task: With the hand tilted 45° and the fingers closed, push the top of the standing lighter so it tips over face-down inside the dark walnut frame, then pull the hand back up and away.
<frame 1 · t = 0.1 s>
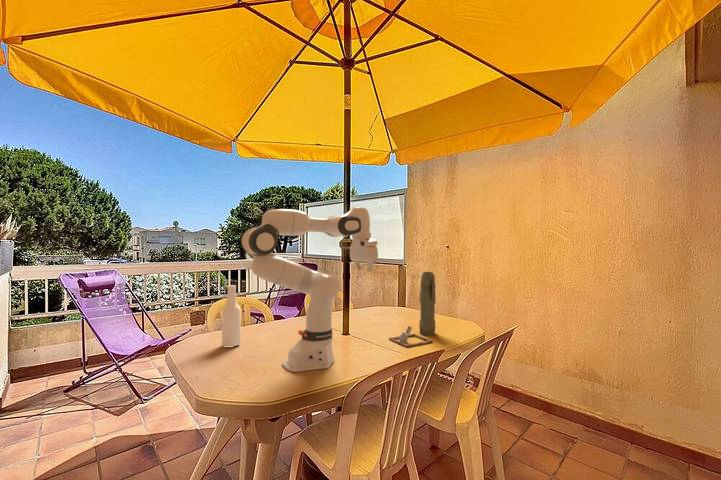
hand: (364, 270, 163), 39 cm above the table, tool pointing down, fingers open, 8 cm apart
lighter: (405, 342, 180), resting in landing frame
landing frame: (410, 341, 181), on the table
alcohol: (231, 346, 172), on the table
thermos: (427, 333, 197), on the table
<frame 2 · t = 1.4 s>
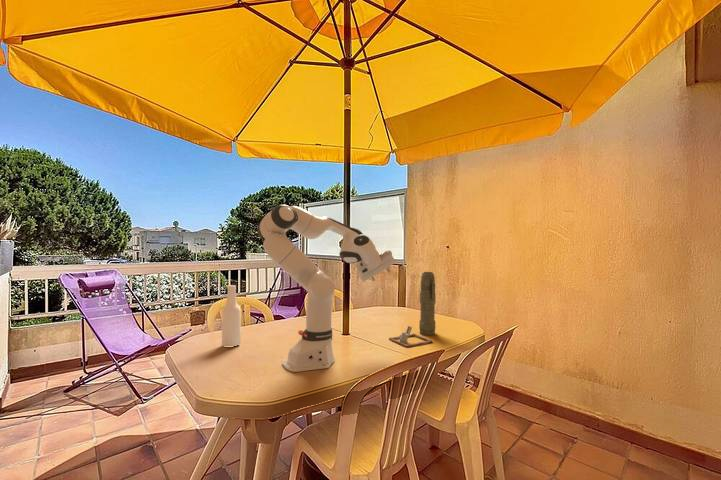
hand: (381, 275, 181), 35 cm above the table, tool tilted 50°, fingers open, 8 cm apart
nothing on the table moved.
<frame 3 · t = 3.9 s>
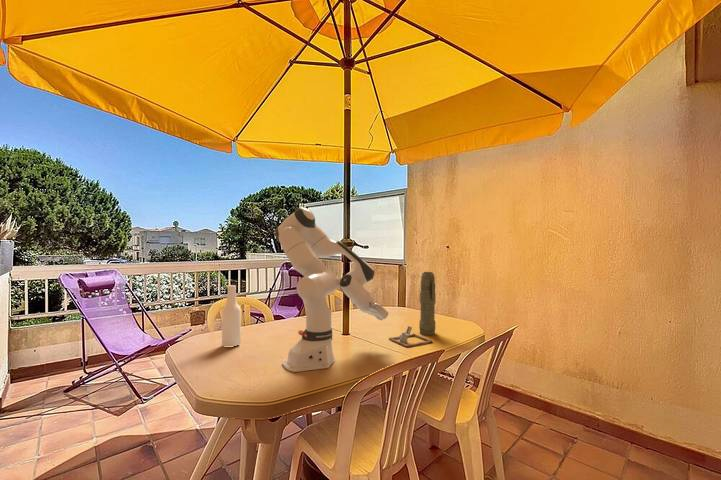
hand: (380, 318, 173), 14 cm above the table, tool tilted 45°, fingers closed
nothing on the table moved.
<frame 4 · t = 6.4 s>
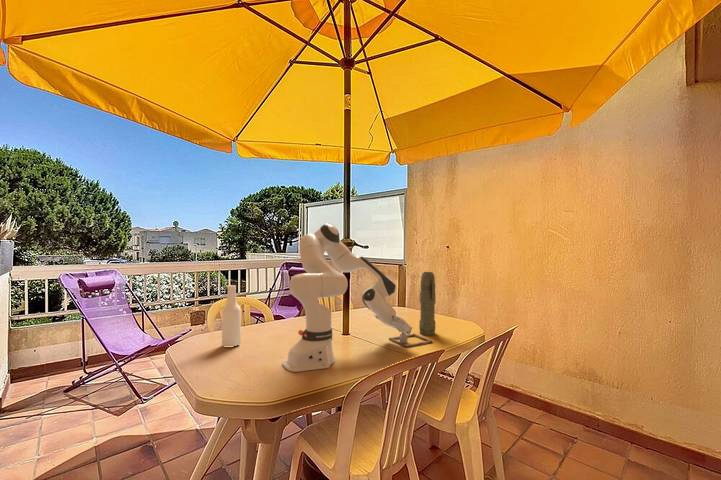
hand: (402, 331, 179), 6 cm above the table, tool tilted 45°, fingers closed, pressing on lighter
lighter: (405, 342, 180), resting in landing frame, touching gripper
everything else where it was.
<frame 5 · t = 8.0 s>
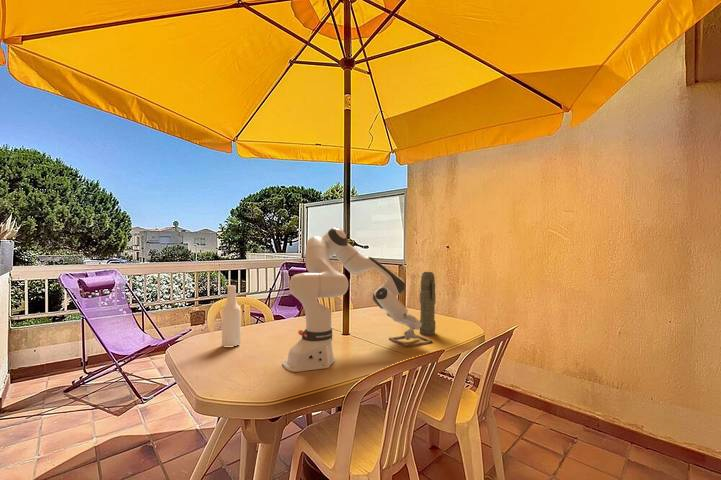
hand: (413, 328, 183), 6 cm above the table, tool tilted 45°, fingers closed, pressing on lighter
lighter: (406, 339, 180), point 1 cm above the table, touching gripper
everything else where it was.
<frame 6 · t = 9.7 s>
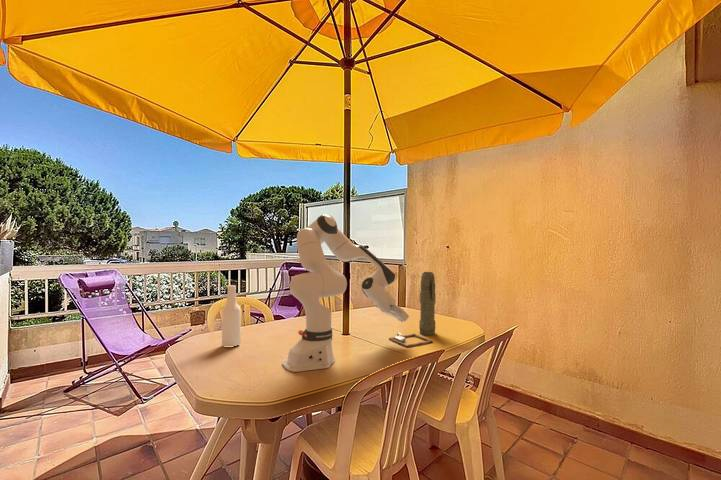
hand: (401, 320, 178), 12 cm above the table, tool tilted 45°, fingers closed
lighter: (405, 339, 181), point 1 cm above the table, touching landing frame
everything else where it was.
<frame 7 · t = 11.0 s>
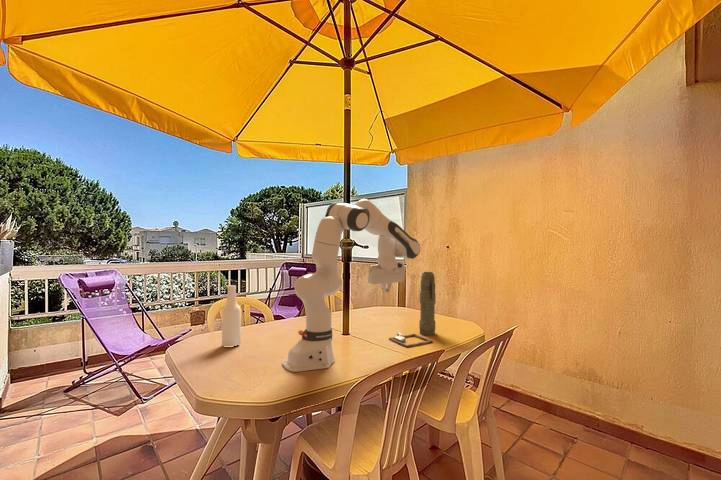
hand: (386, 292, 173), 27 cm above the table, tool pointing down, fingers closed
nothing on the table moved.
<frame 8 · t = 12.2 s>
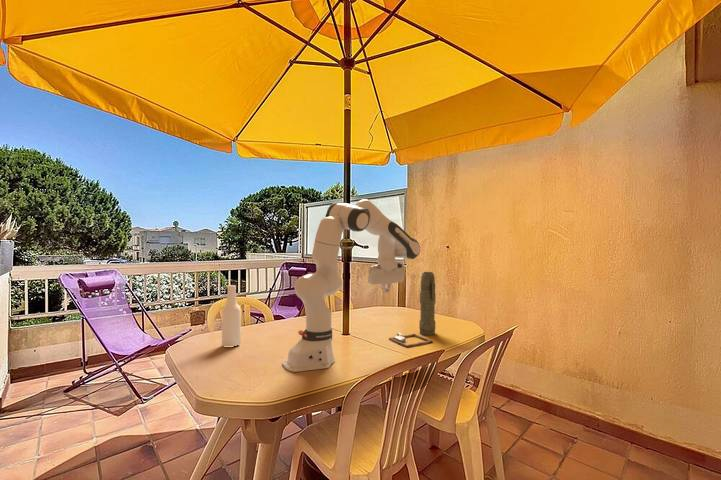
hand: (386, 292, 173), 27 cm above the table, tool pointing down, fingers closed
nothing on the table moved.
at the end: lighter tilted 85°; lighter inside the target area (3.5 cm from its centre), point 1.1 cm above the table; the gripper is holding nothing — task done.
